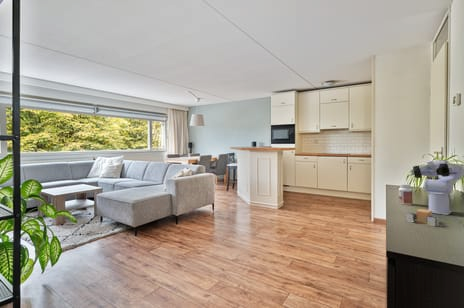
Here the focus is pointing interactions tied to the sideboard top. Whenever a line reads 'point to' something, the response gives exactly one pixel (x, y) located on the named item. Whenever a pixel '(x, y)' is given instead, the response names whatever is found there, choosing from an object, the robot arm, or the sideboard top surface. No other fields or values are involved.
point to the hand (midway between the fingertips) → (426, 172)
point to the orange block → (422, 215)
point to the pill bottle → (405, 194)
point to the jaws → (430, 220)
